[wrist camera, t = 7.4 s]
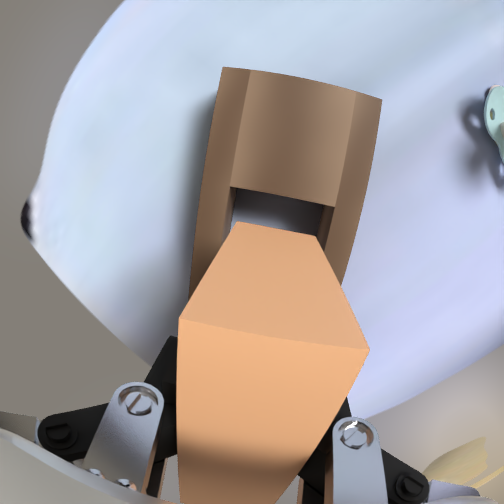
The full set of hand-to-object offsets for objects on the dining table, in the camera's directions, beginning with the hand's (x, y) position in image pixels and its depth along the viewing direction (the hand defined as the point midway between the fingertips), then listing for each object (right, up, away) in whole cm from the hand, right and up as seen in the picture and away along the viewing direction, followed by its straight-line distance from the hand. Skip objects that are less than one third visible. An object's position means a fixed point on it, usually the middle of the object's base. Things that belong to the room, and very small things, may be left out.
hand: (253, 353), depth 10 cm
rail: (+1, +3, +8) cm, 9 cm away
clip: (0, +1, +2) cm, 2 cm away
